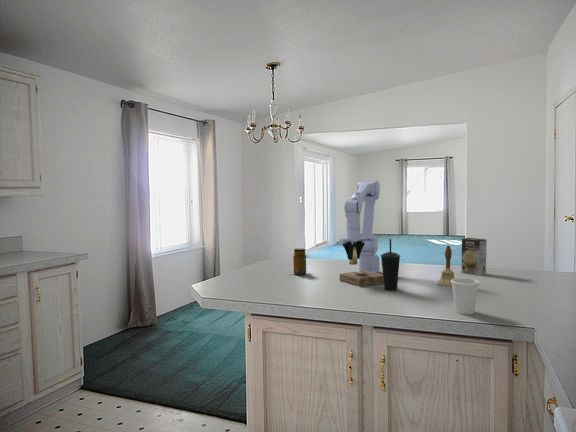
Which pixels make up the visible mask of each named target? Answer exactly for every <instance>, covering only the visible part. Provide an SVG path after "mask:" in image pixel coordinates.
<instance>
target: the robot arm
mask: <svg viewBox="0 0 576 432" xmlns="http://www.w3.org/2000/svg"><path fill="white" fill-rule="evenodd" d="M380 190H381V187H380V182H379V181H378V180H358V181H357V184H356V191H355V192H354V193H353V194H352V196H351V197H350V199H349V200H346V201H345V203H344V212H345V218H346V237H343V238H339V241H338V243H339V244H341V245H342V247H343V248H344V250H345V252H346V253H345V254H346V256H347V259H348V261H349V260H352V259H353V248H357V260H358V270H355V271H354V272H357V271H369V272H373V273H377V274H381V272H382V271H380V257H379V256H380V255H379V254H377V252H378V247H379V246H378V238H377V237H376V235H375V234H373V229H374V228H373V226H374V225H373V224H374V217H375V216H374V215H375V205H376V201H377V200H379V198H380V192H381V191H380ZM363 205H364V208H363ZM362 211H363V219H362V228H361V213H362ZM361 229H362V231H361Z"/></svg>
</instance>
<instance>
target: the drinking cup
mask: <svg viewBox="0 0 576 432" xmlns="http://www.w3.org/2000/svg"><path fill="white" fill-rule="evenodd" d="M388 241H389V251H387V252H385V253H382V254H380V255H379V256H380V257H381V259H380V261H381V269H382V275H383V280H384V283H383V289H384V291H388V292H395V291H397V290H398V281H399V270H400V259H401V258H400V257H401V254H399V253H396V252H395V251H392V238H389V240H388Z"/></svg>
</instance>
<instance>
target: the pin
mask: <svg viewBox="0 0 576 432" xmlns="http://www.w3.org/2000/svg"><path fill="white" fill-rule="evenodd" d="M348 262H349V263H348V264H349V265H353V266H354V265H358V259H357V248H353V259H352V260H349V259H348Z"/></svg>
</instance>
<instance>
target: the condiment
mask: <svg viewBox="0 0 576 432" xmlns="http://www.w3.org/2000/svg"><path fill="white" fill-rule="evenodd" d="M292 258H293V260H292V261H293V272H291V273H289V275H293V276H301V277H303V276H310V275H312V273H309V272H307V255H306V249H305V248H294V249H293V257H292Z"/></svg>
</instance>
